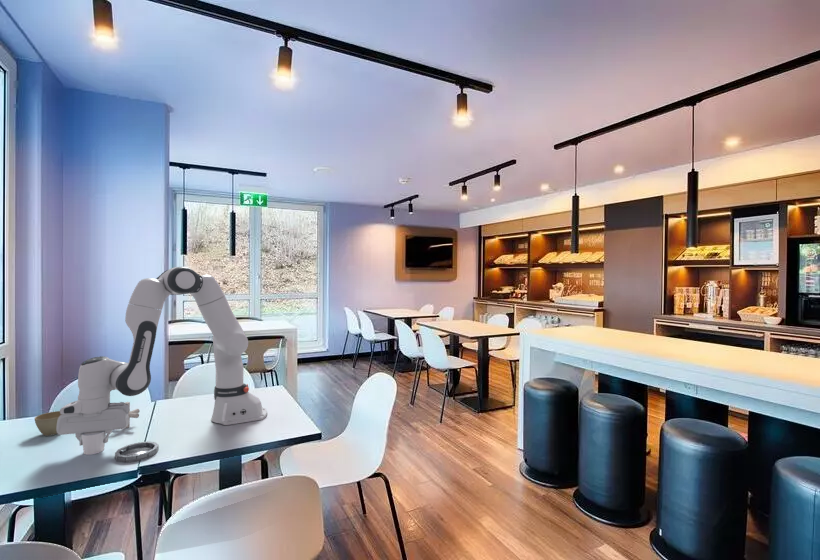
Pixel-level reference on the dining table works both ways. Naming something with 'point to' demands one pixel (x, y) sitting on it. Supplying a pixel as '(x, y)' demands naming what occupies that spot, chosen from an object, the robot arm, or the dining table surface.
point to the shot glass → (93, 442)
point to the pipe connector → (132, 413)
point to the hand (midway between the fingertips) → (94, 443)
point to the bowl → (136, 452)
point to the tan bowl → (47, 423)
